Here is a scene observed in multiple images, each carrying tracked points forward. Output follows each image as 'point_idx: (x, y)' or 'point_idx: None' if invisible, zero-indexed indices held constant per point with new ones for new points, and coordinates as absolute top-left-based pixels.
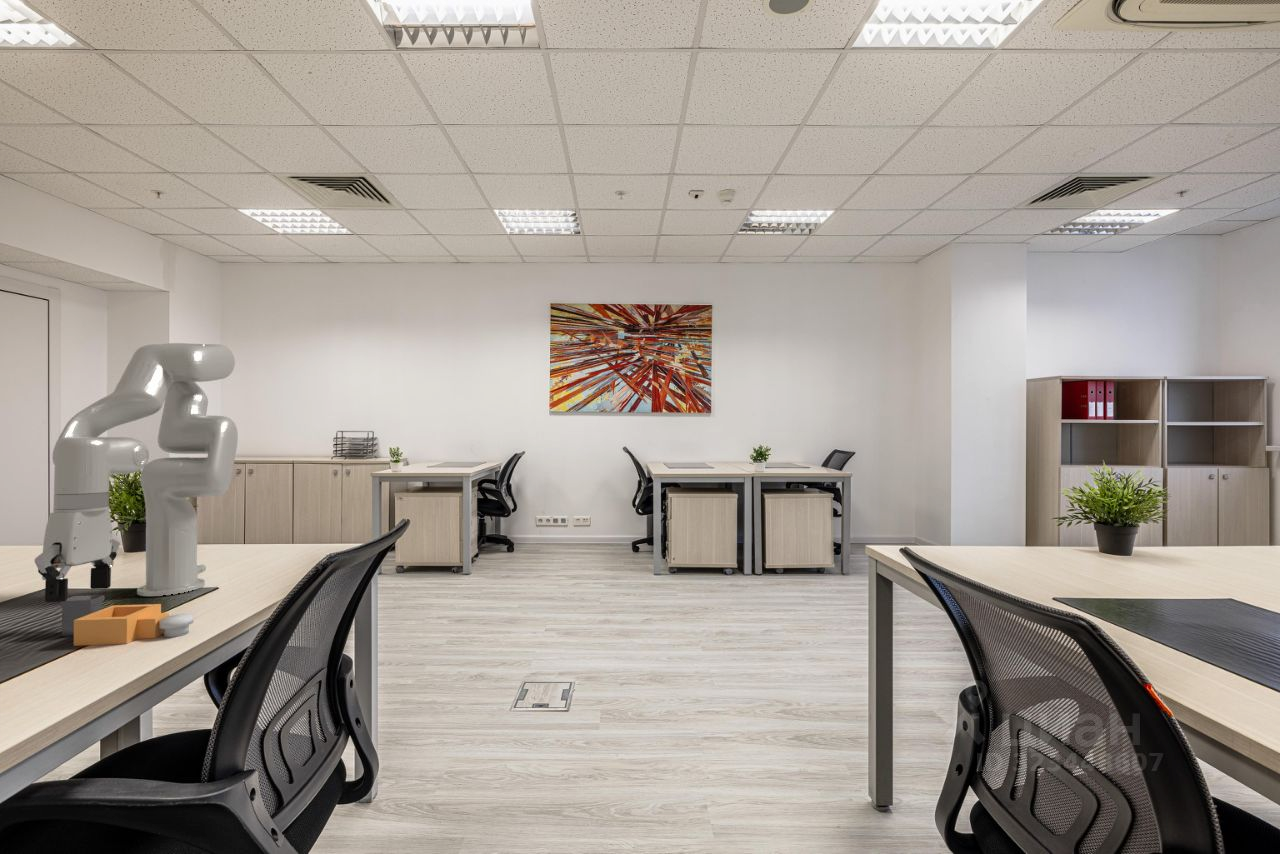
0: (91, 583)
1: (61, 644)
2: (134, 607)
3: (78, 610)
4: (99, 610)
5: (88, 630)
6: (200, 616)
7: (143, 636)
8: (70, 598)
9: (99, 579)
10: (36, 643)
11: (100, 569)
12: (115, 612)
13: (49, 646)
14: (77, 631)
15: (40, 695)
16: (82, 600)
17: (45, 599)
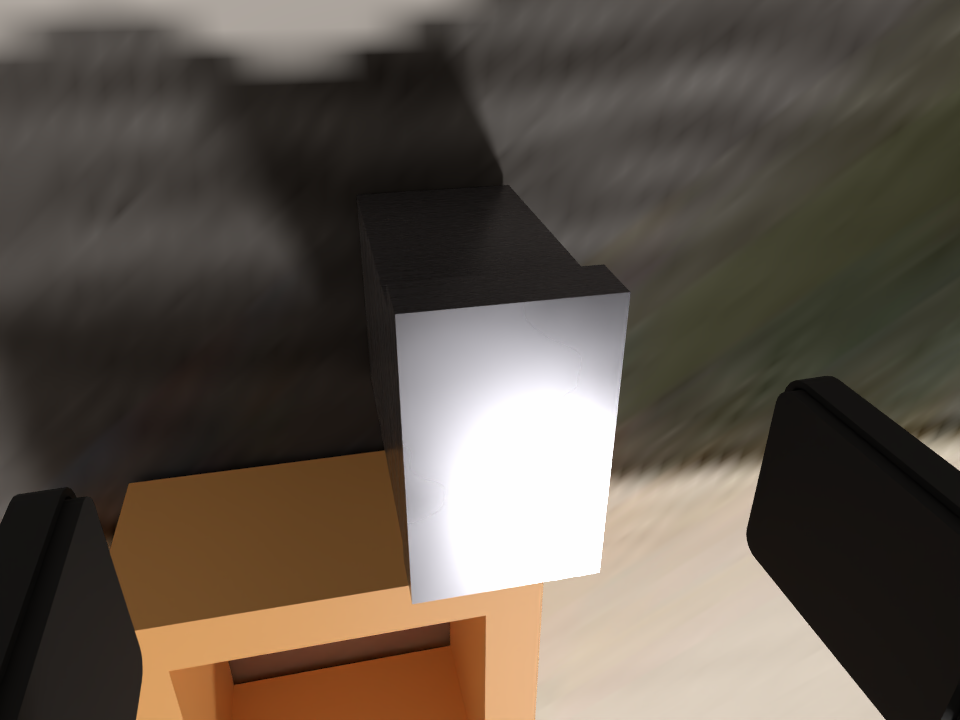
0: (819, 435)
1: (176, 347)
2: (485, 715)
3: (390, 435)
4: (394, 588)
5: None
6: (678, 680)
7: None
8: (506, 347)
9: (832, 554)
10: (183, 111)
11: (945, 683)
12: None
13: (122, 297)
14: None
15: None
16: (408, 538)
17: (14, 509)
